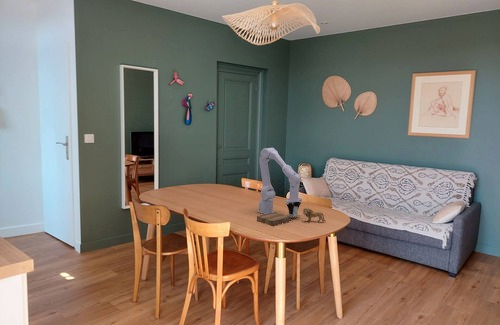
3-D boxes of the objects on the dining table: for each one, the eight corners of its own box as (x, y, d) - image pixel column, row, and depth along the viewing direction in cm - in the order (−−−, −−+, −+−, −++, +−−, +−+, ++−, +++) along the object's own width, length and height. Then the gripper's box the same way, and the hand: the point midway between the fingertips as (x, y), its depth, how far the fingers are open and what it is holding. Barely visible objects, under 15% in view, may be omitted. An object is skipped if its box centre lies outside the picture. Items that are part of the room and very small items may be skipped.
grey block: (288, 215, 237) (289, 206, 236) (292, 214, 240) (293, 205, 239) (293, 216, 234) (293, 207, 233) (297, 215, 237) (297, 206, 236)
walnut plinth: (256, 220, 228) (257, 216, 228) (274, 216, 239) (274, 212, 239) (273, 226, 218) (273, 221, 218) (290, 221, 229) (291, 216, 229)
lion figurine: (303, 222, 227) (303, 208, 226) (301, 220, 232) (302, 206, 231) (326, 223, 227) (327, 209, 226) (325, 220, 233) (325, 207, 231)
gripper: (291, 195, 227) (290, 216, 229) (306, 192, 237) (305, 213, 239) (283, 193, 232) (282, 214, 234) (297, 190, 242) (296, 210, 244)
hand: (293, 213), depth 237 cm, fingers closed on grey block, 4 cm apart
